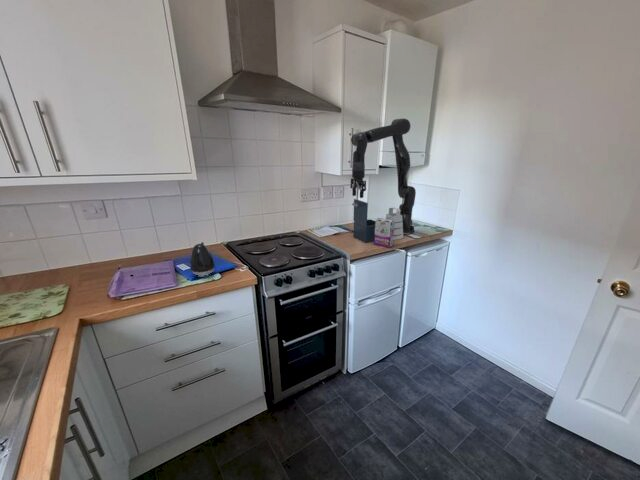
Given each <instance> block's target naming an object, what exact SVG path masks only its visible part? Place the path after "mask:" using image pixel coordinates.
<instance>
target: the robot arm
mask: <svg viewBox="0 0 640 480" xmlns="http://www.w3.org/2000/svg"><path fill="white" fill-rule="evenodd" d="M410 131H411V122H410V120H409V119H408V118H395V119H393V120H392V121H391V124H388V125H384V126H379V127H375V128H372V129H369V130H365V131H360V132H355V133H353V134H352V136H351V138H350V142H351V145H353V146H354V147H356V149H355V150H354V151H353V153H352V164H351V165H352V166H351V168H352V169H351V177H352V178H350V189H351V190H352V192H351V193H352V196H353V197H356V196H357V189H358V190H359V198H360V199H363V198H364V192H366V191H367V181H366V180H364V178H365V176H366V175H365V174H366V163H365V158H366V152H367V148H368V144H369V143H370V144H371V143H375V142H377V141H381V140H384V139H387V138H390V137H392V143H393V147H394V148H393V149H394V156H395V166H396V173H397V194H398V197H399V198H400V199H402V200H403V202H402V203H401V204H399V207H398V208H399V209H400V215H402V222H403V235H410V234H412V233H414V232H415V226H414V225H413V219H412V218H413V208H414V206H415V202H416V194H417V191H416V188H415V187H414V186H413V185H412V186H411V185H408V175H409V172H410V169H411V155H410V153H409V151H408V150H409V149H408V148H407V146H406V145H405V143H404V138H403V137H404V136H405V135H407V134H408V133H409V132H410ZM403 135H404V136H403Z"/></svg>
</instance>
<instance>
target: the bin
mask: <svg viewBox="0 0 640 480" xmlns="http://www.w3.org/2000/svg"><path fill="white" fill-rule="evenodd" d="M352 235H353V238H354V239H357V240H359V241H361V242H363V243H365V244H368V243H374V236H375V220H374V219H372V218H371V219H370V218H369V219H367V226H365V225H362V224H360V223H358V222H355V221H353V234H352Z"/></svg>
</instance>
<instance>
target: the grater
mask: <svg viewBox="0 0 640 480" xmlns="http://www.w3.org/2000/svg"><path fill="white" fill-rule="evenodd" d="M394 210H395V212H394ZM385 219H388V220H395V222H394V235H393V241H396V240H401V239H404V234H403V222H402V215H400V209H399V207H394V206H393V207H392V206H391V207H389V208H388V213H386V215H385Z"/></svg>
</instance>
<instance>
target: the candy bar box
mask: <svg viewBox="0 0 640 480" xmlns="http://www.w3.org/2000/svg"><path fill="white" fill-rule="evenodd" d="M374 221H375V236H374V242H373V245H375V246H380V247H385V248H391V247H393V246H394V240H393V236H395V235H394V222H395V220H392V219H391V220H388V219H386V218H381V217H380V218H379V217H378V218H375V220H374Z"/></svg>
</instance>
